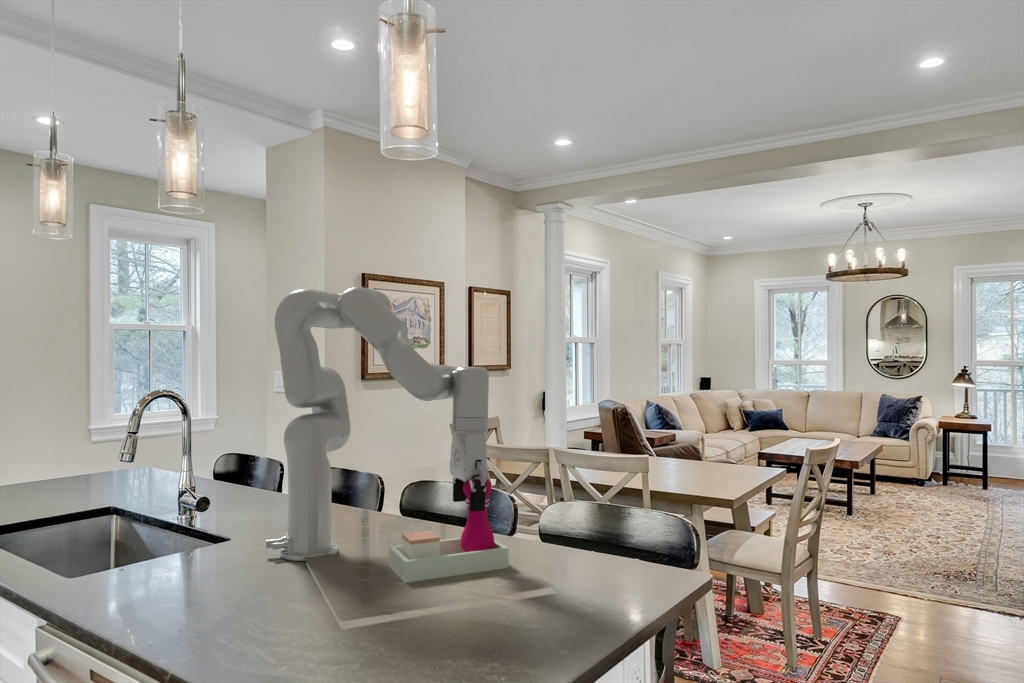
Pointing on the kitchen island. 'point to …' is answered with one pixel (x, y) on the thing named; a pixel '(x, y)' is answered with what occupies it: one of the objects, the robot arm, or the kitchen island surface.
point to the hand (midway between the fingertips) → (468, 505)
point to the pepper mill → (477, 524)
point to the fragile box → (420, 545)
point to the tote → (448, 561)
